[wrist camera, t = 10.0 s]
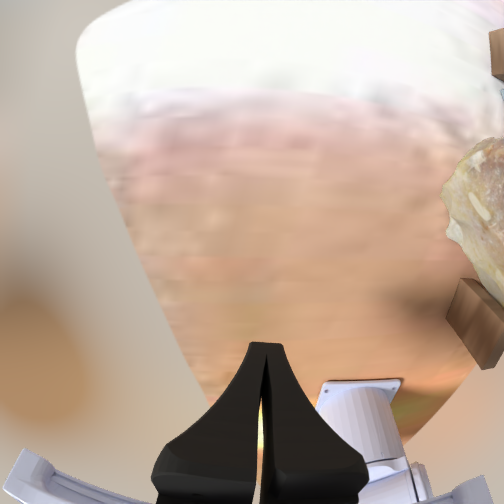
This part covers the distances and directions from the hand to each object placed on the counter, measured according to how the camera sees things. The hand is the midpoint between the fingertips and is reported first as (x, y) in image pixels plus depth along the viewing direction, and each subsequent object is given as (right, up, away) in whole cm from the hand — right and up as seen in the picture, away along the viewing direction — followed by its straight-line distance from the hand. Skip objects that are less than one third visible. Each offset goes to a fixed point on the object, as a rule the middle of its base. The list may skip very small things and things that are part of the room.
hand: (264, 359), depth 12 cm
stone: (+22, +6, 0) cm, 23 cm away
